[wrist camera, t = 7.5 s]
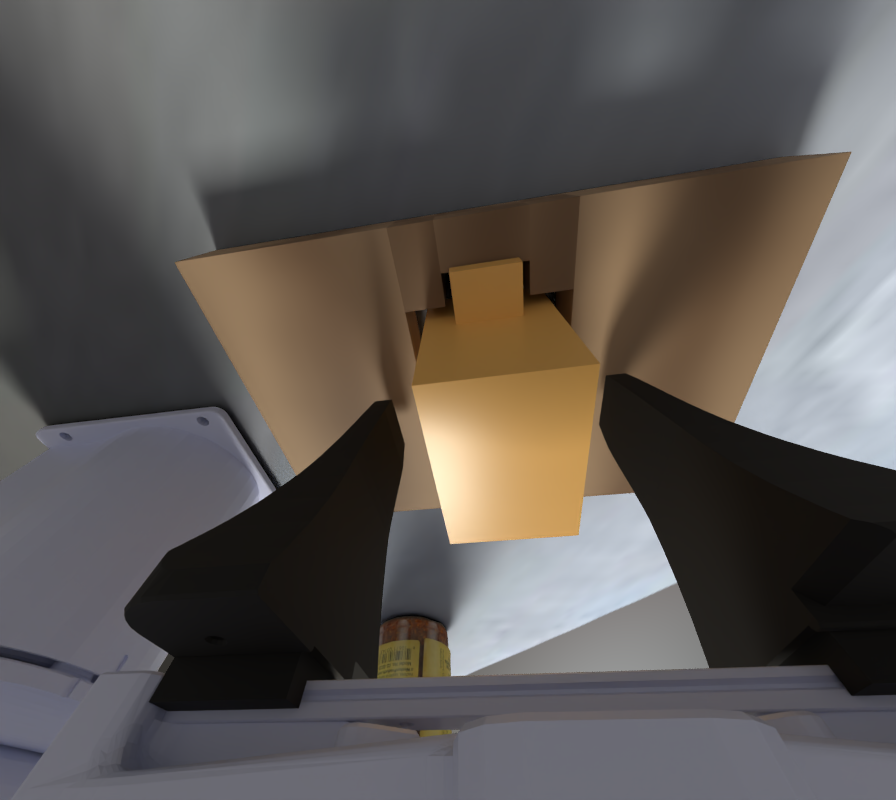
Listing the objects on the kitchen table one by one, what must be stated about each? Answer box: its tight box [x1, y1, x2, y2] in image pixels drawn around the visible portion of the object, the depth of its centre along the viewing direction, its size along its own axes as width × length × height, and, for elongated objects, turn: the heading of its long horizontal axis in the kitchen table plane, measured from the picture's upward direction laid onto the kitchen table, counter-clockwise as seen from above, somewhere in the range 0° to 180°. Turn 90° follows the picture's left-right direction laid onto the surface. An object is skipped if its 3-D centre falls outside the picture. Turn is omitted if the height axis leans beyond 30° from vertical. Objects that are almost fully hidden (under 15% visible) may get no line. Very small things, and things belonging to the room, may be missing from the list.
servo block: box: [412, 257, 600, 544], centre depth 11 cm, size 4×9×6 cm, turn 8°
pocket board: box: [175, 152, 851, 512], centre depth 13 cm, size 18×12×2 cm, turn 98°
